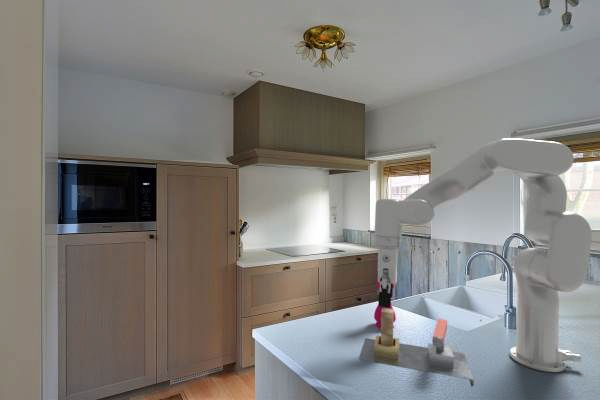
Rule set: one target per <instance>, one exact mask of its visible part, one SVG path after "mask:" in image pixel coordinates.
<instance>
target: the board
mask: <svg viewBox="0 0 600 400" xmlns="http://www.w3.org/2000/svg"><path fill="white" fill-rule="evenodd" d="M375 339H376V338H368V337H366V338H365V339H364V342H363V345H362V347H361V348H362V349H361V351H360V354H359V357H358V360H360V361H365V362H369V363H370V362H371V363H375V364H376V363H377V364H382V365H387V366H388V365H389V366H394V367H398V368H404V369H410V370H416V371H422V372H428V373H433V374H439V375H442V376H443V375H444V376H449V377H455V378H460V379H461V378H462V379H468V380H469V383H470V385H474V384H475V383H474V381H475V380H474V377H473V373H472V371H471V368H470V365H469V363H468V360H467V357H466V354H465V353H464V352H459V351H453V350H452V346H450V345H449V346H448V345H444V351H443V352H441V351H437V350H436V346H434V345H433V343H427V346H426V347H425V346H420V345H413V344H405V343H401V342H399V360H398V359H392V358H386V357H380V356H375V355H374V343H375Z"/></svg>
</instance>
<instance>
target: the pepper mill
mask: <svg viewBox="0 0 600 400" xmlns="http://www.w3.org/2000/svg"><path fill="white" fill-rule="evenodd" d="M391 284H393V283H391ZM376 287H377V295H378V296H379V291H380V283H379V282H378V278H377V280H376ZM394 288H395V285H394V284H393V289H394ZM392 305H393V304H392V303H391V307H390V308H387V307H380V306H379V305H378V304H377V306H376V308H375V310H374V313H373V314H374V315H373V318H374V320H375V321H376V322H375V325H374V326H375V327H376V328H377V329H380V330H381V311H382V308H387V309H394V308H393V306H392ZM395 312H396V311H394V312H393V329H395V325H394V323H395V321H397V320H396V319H397V318H396V313H395Z"/></svg>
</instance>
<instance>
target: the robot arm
mask: <svg viewBox="0 0 600 400" xmlns="http://www.w3.org/2000/svg"><path fill="white" fill-rule="evenodd" d="M574 159H575V158H574V153H573V151H572V150H571V148H570V147H568V146H567V145H566V144H563V143H560V142H556V141H548V140H535V139H526V138H525V139H524V138H512V137H511V138H510V137H507V138H501V139H498V140H495V141H491V142H488V143H486V144H484V145H481V146H480V147H478V148H477V149H475V150H474V151H473V152H471V154H469V155H467V156H466V157H464V159H462V160H461V161H460V162H458V163H457V164H454V165H453V166H452V167H451V168H449V169H448V170H446V171H445V172H443V173H441V174H440V175H439V176H437V177H435V178H434V179H432V180H431V181H429V182H427V183H426V184H424V185H422V186H421V187H419V188H417V189H416V190H415V191H414V192H412V193H410V194H409V195H408V196H406V197H405V198H404V199H403V200H401V199H396V198H380V199H378V200H377V201H376V202H375V210H374V211H375V213H374V215H375V217H374V239H373V240H374V245H373V246H374V247H375V248H378V249H377V250H378V252H377V279H378V282H379V283H380V291H379V295H378V300H377V301H378V304H377V306H378V305H379V306H380V307H387V308H390V307H391V304H392V298H393V295H394V294H393V292H394V291H393V290H394V288H393V284H394V286H395V285H397V280H398V265H399V264H398V260H399V259H398V258H399V257H398V256H399V255H398V254H399V253H398V252H399V251H398V250H400V249H401V248H402V243H403V242H402V239H403V236H402V235H403V225H409V226H415V227H423V226H427V225H429V224H430V223H432V221H433V220H434V218H435V208H437V207H438V206H441V205H442V204H445V203H446V202H450V201H453V200H456V199H460V198H463V197H465V196H466V195H468V194H470V193H471V192H473V191H474V190H476V189H477V188H478V187H481V185H482V184H484V183H486V182H487V181H488V180H490V179H491V178H492V177H494V176H495V175H496V174H498V173H501V172H507V171H511V172H513V173H514V174H515V175H516V176H518V178H520V179H521V180H522V182H524V184H525V186H526V188H527V191H528V202H527V208H526V215H525V222H524V234H525V236H526V238H528V240H530V241H532V242H533V243H536V244H540V245H543V246H544V245H545V246H548V247H547V249H543V248H540V247H538V248H537V247H527V248H524V249H522V250H520V251H519V252H518V253H517V254H516V256H515V257H514V260H513V269H514V274H515V275H514V276H515V283H516V289H517V290H516V292H517V293H516V300H517V301H516V334H515V335H516V336H515V337H516V342H515V343H516V344H515V345H516V346H512V347H511V348H510V350H509V356H510V357H511V358H512V359H513V360H514V361H516V362H517V363H518V364H520V365H523V366H525V367H527V368H529V369H530V368H531V369H533V370H537V371H541V372H545V373H546V372H547V373H560V372H563V371H565V370H566V368H567V367H566V362H568V361H571V362H575V363H581V362H582V357H581V355H580V354H576V353H571V351H570V350H565V349H561V348H560V347H559V345H560V344H559V340H560V339H559V338H560V337H559V335H560V332H559V331H560V330H559V329H560V298H559V297H560V296H559V292H560V293H572V292H575V291H577V290H579V288H581V287H582V286H583V284H584V282H585V280H586V277H587V275H588V268H589V267H588V266H589V263H590V262H589V261H590V254H591V246H592V241H593V233H592V229H591V226H590V223H589V222H588V220H587V219H586V217H585V218H584V216H582V215H580V214H578V213H575V212H572V211H567V200H568V199H567V198H568V193H567V187H566V184H565V182H564V181H563V179H562V178H561V176H560V175H563V174H564V173H566V172H568V171H569V170H570V169H571V168H572V166H573V164H574ZM391 283H393V284H391Z"/></svg>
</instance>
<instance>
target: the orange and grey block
mask: <svg viewBox="0 0 600 400" xmlns="http://www.w3.org/2000/svg"><path fill="white" fill-rule="evenodd" d="M447 329H448V320H447V319H443V318H437V321H436V324H435V328H434V331H433V334H432V341H431V342H432V344H433V345H434V346H436V350H437V351H441V352H443V351H444V346H445V339H446V333H447Z"/></svg>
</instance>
